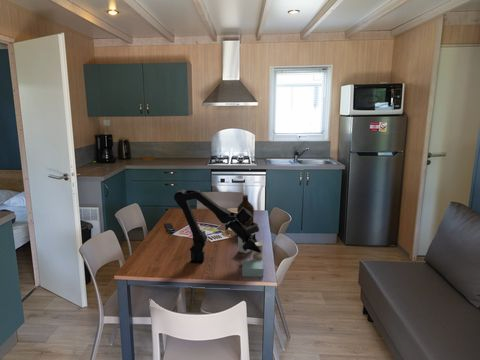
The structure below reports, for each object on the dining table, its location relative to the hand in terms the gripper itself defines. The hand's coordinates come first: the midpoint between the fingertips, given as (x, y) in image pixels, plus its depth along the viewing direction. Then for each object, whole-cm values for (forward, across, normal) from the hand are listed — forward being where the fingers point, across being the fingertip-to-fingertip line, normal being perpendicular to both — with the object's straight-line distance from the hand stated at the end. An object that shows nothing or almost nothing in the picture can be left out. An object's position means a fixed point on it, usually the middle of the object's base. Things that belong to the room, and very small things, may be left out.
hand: (260, 250), depth 177 cm
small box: (-1, +15, +11) cm, 19 cm away
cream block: (+4, 0, +6) cm, 7 cm away
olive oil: (-2, +45, +12) cm, 47 cm away
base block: (+2, -12, +7) cm, 14 cm away
